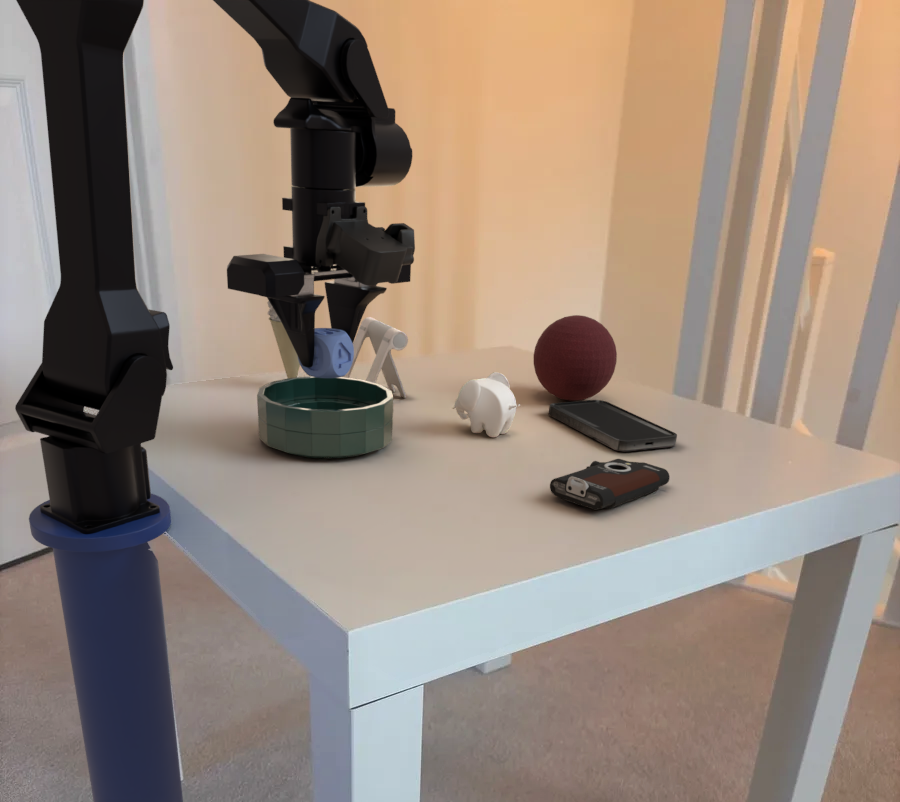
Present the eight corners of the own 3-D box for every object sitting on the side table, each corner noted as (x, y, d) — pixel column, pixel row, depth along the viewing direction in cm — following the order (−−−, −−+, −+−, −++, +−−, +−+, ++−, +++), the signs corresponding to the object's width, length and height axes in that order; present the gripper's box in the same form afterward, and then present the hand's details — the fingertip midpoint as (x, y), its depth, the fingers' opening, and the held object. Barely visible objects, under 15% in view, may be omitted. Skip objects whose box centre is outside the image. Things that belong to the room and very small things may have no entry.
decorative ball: (603, 415, 107) (615, 327, 102) (521, 403, 109) (528, 318, 105) (616, 395, 115) (627, 313, 111) (539, 385, 118) (547, 305, 113)
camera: (543, 470, 80) (613, 448, 88) (542, 500, 81) (611, 476, 89) (603, 483, 76) (672, 460, 84) (601, 515, 77) (668, 489, 85)
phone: (601, 399, 108) (681, 435, 96) (600, 408, 109) (679, 445, 97) (544, 403, 105) (620, 442, 93) (543, 413, 105) (618, 452, 94)
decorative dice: (354, 372, 90) (354, 331, 88) (331, 380, 87) (331, 337, 85) (320, 366, 91) (320, 326, 90) (297, 374, 88) (296, 331, 86)
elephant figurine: (471, 418, 103) (474, 365, 100) (532, 432, 99) (538, 378, 96) (436, 430, 98) (439, 375, 95) (500, 446, 94) (505, 389, 91)
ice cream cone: (266, 383, 112) (260, 253, 105) (306, 380, 114) (303, 253, 107) (277, 393, 107) (272, 259, 101) (318, 391, 110) (316, 259, 103)
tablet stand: (324, 390, 110) (324, 318, 106) (384, 385, 114) (385, 316, 110) (352, 408, 103) (352, 333, 100) (414, 403, 107) (417, 330, 103)
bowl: (325, 472, 84) (325, 419, 82) (232, 440, 91) (229, 390, 89) (418, 442, 94) (419, 394, 91) (326, 415, 101) (326, 370, 98)
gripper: (310, 196, 71) (313, 395, 78) (458, 194, 84) (449, 364, 91) (217, 185, 77) (228, 371, 84) (369, 185, 90) (367, 345, 97)
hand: (324, 363), depth 89 cm, fingers closed on decorative dice, 4 cm apart
